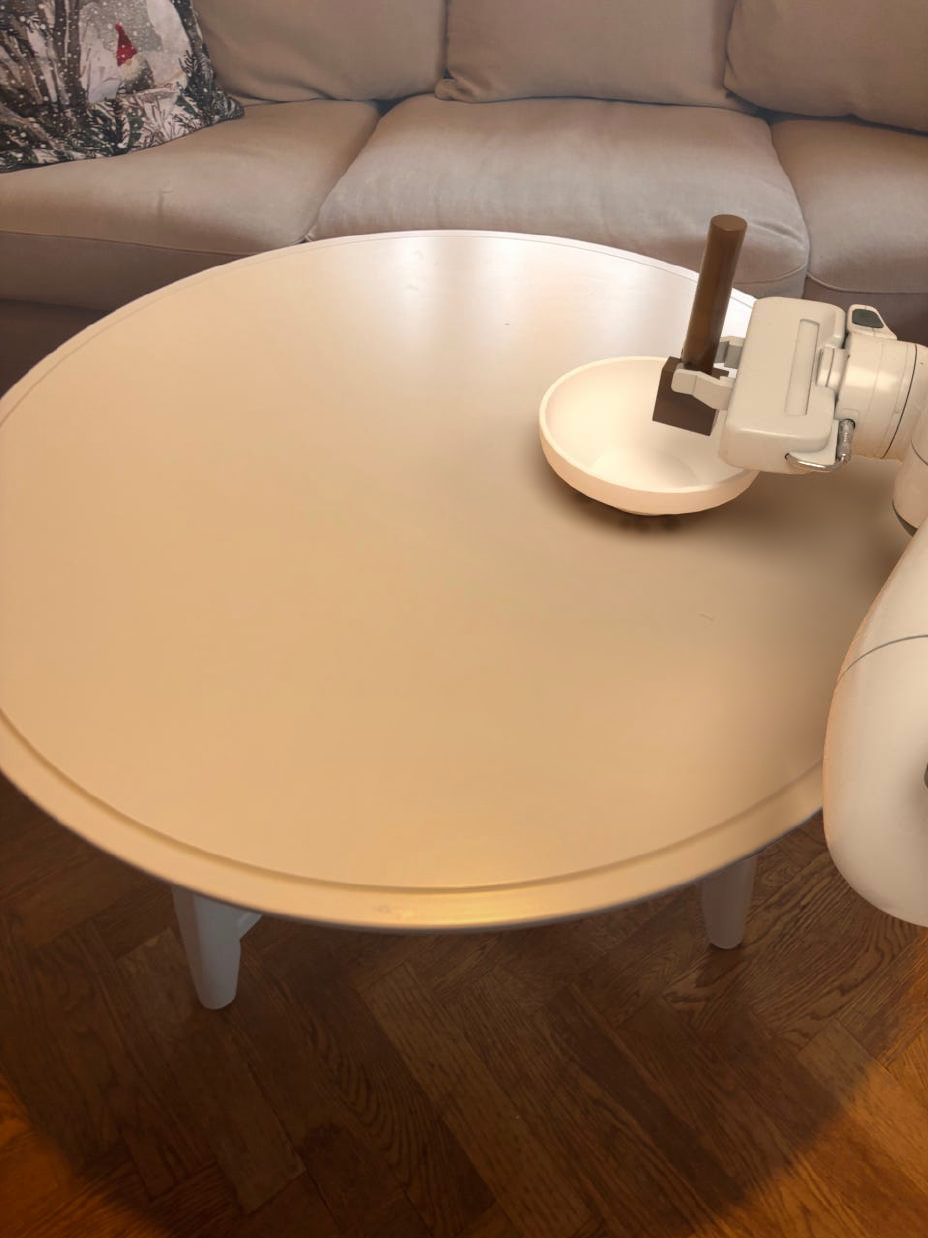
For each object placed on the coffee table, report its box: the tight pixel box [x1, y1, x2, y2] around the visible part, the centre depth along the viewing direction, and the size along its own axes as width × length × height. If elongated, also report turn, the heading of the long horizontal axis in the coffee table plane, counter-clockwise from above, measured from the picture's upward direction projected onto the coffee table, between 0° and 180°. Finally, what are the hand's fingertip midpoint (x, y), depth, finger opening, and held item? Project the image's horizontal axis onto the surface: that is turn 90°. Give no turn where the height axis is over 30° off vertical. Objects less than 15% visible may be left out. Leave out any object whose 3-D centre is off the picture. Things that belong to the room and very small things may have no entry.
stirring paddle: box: [652, 213, 748, 436], centre depth 75 cm, size 5×3×17 cm, turn 65°
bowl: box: [538, 355, 761, 516], centre depth 84 cm, size 20×20×7 cm
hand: (677, 362), depth 78 cm, fingers closed on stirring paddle, 2 cm apart
